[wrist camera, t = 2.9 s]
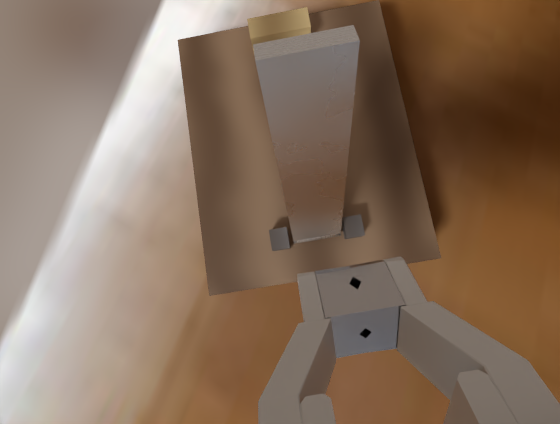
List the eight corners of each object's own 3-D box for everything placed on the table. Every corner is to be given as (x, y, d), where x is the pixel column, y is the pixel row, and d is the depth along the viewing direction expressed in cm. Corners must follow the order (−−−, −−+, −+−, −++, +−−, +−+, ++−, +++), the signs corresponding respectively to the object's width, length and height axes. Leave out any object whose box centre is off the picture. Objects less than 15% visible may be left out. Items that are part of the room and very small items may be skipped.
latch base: (368, 35, 29) (384, -20, 24) (420, 258, 26) (453, 257, 20) (194, 69, 30) (168, 23, 24) (223, 290, 27) (201, 298, 21)
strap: (353, 23, 10) (360, 41, 10) (337, 226, 23) (340, 238, 22) (252, 43, 10) (255, 61, 10) (292, 234, 23) (294, 245, 23)
